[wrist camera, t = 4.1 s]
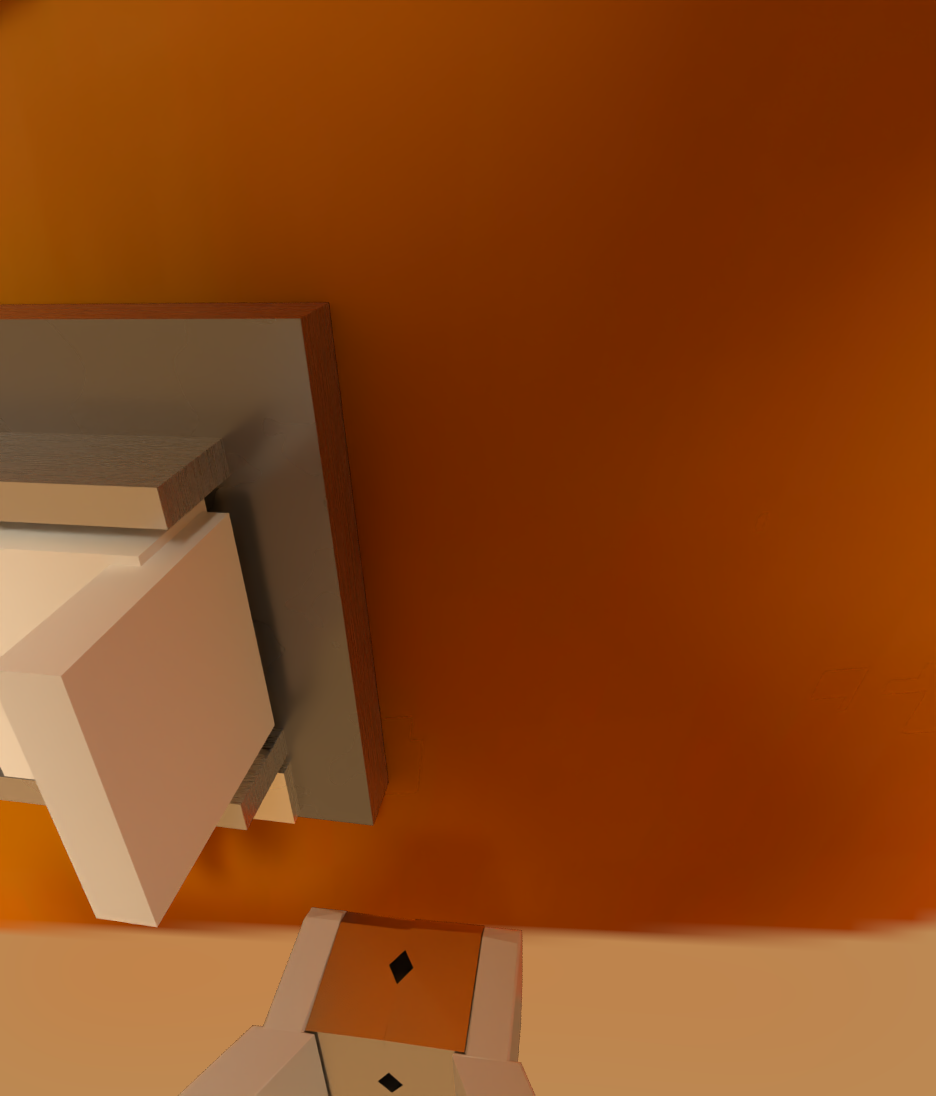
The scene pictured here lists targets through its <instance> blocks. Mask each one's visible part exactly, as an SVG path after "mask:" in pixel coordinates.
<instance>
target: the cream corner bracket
mask: <svg viewBox="0 0 936 1096" xmlns="http://www.w3.org/2000/svg"><path fill="white" fill-rule="evenodd" d="M274 726H275V724H274V719H273V714H272V710H271V705H270V700H269V696H268V691H267V687H266V682H265V677H264V673H263V668H262V664H261V659H260V654H259V650H258V645H257V640H256V636H255V631H254V627H253V622H252V617H251V613H250V608H249V603H248V599H247V594H246V590H245V585H244V580H243V576H242V571H241V566H240V562H239V557H238V553H237V548H236V543H235V539H234V534H233V529H232V525H231V520H230V516H229V513H215V512H207V509H206V505H205V501H204V499H202V500H201V501H200V502H199V503H198V504H197V505H196V506H194V507H193V508H192V509H191V510H190V511H189V512H188V513H186V514H185V515H184V516H183V517H182V518H181V519H180V520H178V521H177V522H176V523H175V524H174V525H173V526H172V527H170V528H169V529H168V530H163V529H143V528H124V527H104V526H84V525H64V524H44V523H24V522H5V521H0V767H1V769H2V772H3V774H4V776H8V777H17V778H25V779H34V780H35V781H36V783H37V786H38V788H39V790H40V792H41V795H42V797H43V799H44V801H45V804H46V806H47V808H48V810H49V813H50V815H51V817H52V819H53V822H54V824H55V826H56V828H57V831H58V833H59V835H60V837H61V840H62V842H63V844H64V846H65V849H66V851H67V853H68V855H69V858H70V860H71V862H72V864H73V867H74V869H75V871H76V873H77V876H78V878H79V880H80V882H81V885H82V887H83V889H84V891H85V894H86V896H87V898H88V900H89V903H90V905H91V907H92V909H93V912H94V914H95V916H96V918H99V919H106V920H112V921H119V922H126V923H132V924H139V925H145V926H152V927H158V925H159V924H160V922H161V920H162V918H163V917H164V915H165V913H166V912H167V910H168V908H169V906H170V905H171V903H172V901H173V900H174V898H175V896H176V894H177V893H178V891H179V889H180V887H181V886H182V884H183V882H184V881H185V879H186V877H187V875H188V874H189V872H190V870H191V869H192V867H193V865H194V863H195V862H196V860H197V858H198V856H199V855H200V853H201V851H202V850H203V848H204V846H205V844H206V843H207V841H208V839H209V838H210V836H211V834H212V832H213V831H214V829H215V827H216V825H217V824H218V822H219V820H220V819H221V817H222V815H223V813H224V812H225V810H226V808H227V807H228V805H229V803H230V801H231V800H232V798H233V796H234V794H235V793H236V791H237V789H238V788H239V786H240V784H241V782H242V781H243V779H244V777H245V776H246V774H247V772H248V770H249V769H250V767H251V765H252V764H253V762H254V760H255V758H256V757H257V755H258V753H259V751H260V750H261V748H262V746H263V745H264V743H265V741H266V739H267V738H268V736H269V734H270V733H271V731H272V729H273V727H274Z"/></svg>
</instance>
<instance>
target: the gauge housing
mask: <svg viewBox="0 0 936 1096" xmlns="http://www.w3.org/2000/svg"><path fill="white" fill-rule="evenodd" d="M202 499H204V501H205V505H206V509H207V512H215V513H229V516H230V520H231V525H232V529H233V534H234V539H235V543H236V548H237V553H238V557H239V562H240V566H241V571H242V576H243V580H244V585H245V590H246V594H247V599H248V603H249V608H250V613H251V617H252V622H253V627H254V631H255V636H256V640H257V645H258V650H259V654H260V659H261V664H262V668H263V673H264V677H265V682H266V687H267V691H268V696H269V700H270V705H271V710H272V714H273V719H274V724H275V726H274V727H273V729H272V731H271V733H270V734H269V736H268V738H267V739H266V741H265V743H264V745H263V746H262V748H261V750H260V751H259V753H258V755H257V757H256V758H255V760H254V762H253V764H252V765H251V767H250V769H249V770H248V772H247V774H246V776H245V777H244V779H243V781H242V782H241V784H240V786H239V788H238V789H237V791H236V793H235V794H234V796H233V798H232V800H231V801H230V803H229V805H228V807H227V808H226V810H225V812H224V813H223V815H222V817H221V819H220V820H219V822H218V824H217V825H216V826H218V827H226V828H234V829H242V830H247V829H248V828H249V826H250V824H251V822H252V820H253V819H260V820H268V821H276V822H284V823H293V824H295V822H296V820H297V818H298V817H306V818H314V819H323V820H331V821H340V822H348V823H357V824H365V825H374V822H375V819H376V817H377V814H378V811H379V808H380V805H381V802H382V800H383V797H384V794H385V791H386V788H387V785H388V783H389V782H388V774H387V766H386V758H385V750H384V742H383V734H382V726H381V718H380V710H379V702H378V694H377V686H376V678H375V670H374V662H373V654H372V646H371V638H370V630H369V622H368V614H367V606H366V598H365V590H364V582H363V574H362V566H361V558H360V550H359V542H358V534H357V526H356V518H355V510H354V502H353V494H352V486H351V478H350V470H349V461H348V453H347V445H346V437H345V429H344V421H343V413H342V405H341V397H340V389H339V381H338V373H337V365H336V357H335V349H334V341H333V333H332V325H331V317H330V309H329V302H317V303H168V304H18V305H0V521H5V522H24V523H44V524H64V525H84V526H104V527H124V528H143V529H163V530H168V529H169V528H170V527H172V526H173V525H174V524H175V523H176V522H177V521H178V520H180V519H181V518H182V517H183V516H184V515H185V514H186V513H188V512H189V511H190V510H191V509H192V508H193V507H194V506H196V505H197V504H198V503H199V502H200V501H201V500H202ZM0 800H8V801H16V802H24V803H32V804H40V805H46V804H45V801H44V799H43V797H42V795H41V792H40V790H39V788H38V786H37V783H36V781H35V780H34V779H25V778H17V777H8V776H4V774H3V772H2V769H1V767H0Z"/></svg>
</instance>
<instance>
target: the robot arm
mask: <svg viewBox="0 0 936 1096" xmlns="http://www.w3.org/2000/svg"><path fill="white" fill-rule="evenodd" d="M521 1003H522V930H513V929H503V928H492V927H485V926H484V925H474V924H463V923H452V922H441V921H431V920H420V919H415V920H412V919H404V918H396V917H387V916H379V915H371V914H363V913H355V912H348V911H343V910H333V909H324V908H314V907H312V908H311V910H310V911H309V913H308V914H307V915H306V917H305V918H304V920H303V923H302V926H301V928H300V931H299V933H298V936H297V939H296V941H295V944H294V947H293V949H292V952H291V954H290V957H289V960H288V963H287V965H286V968H285V970H284V973H283V976H282V978H281V981H280V983H279V986H278V989H277V991H276V994H275V996H274V999H273V1002H272V1004H271V1007H270V1010H269V1012H268V1015H267V1017H266V1020H265V1023H264V1025H263V1026H256V1025H252V1027H250V1028H249V1029H248V1030H247V1031H246V1032H245V1033H244V1034H243V1035H242V1036H241V1037H240V1038H239V1039H238V1040H236V1041H235V1042H234V1043H233V1044H232V1045H231V1046H230V1047H229V1048H228V1049H227V1050H226V1051H225V1052H224V1053H223V1054H222V1055H221V1056H220V1057H218V1058H217V1059H216V1060H215V1061H214V1062H213V1063H212V1064H211V1065H210V1066H209V1067H208V1068H207V1069H206V1070H205V1071H203V1072H202V1073H201V1074H200V1075H199V1076H198V1077H197V1078H196V1079H195V1080H194V1081H193V1082H192V1083H191V1084H190V1085H189V1086H187V1087H186V1088H185V1089H184V1090H183V1091H182V1092H181V1093H180V1094H179V1095H178V1096H535V1094H534V1091H533V1089H532V1087H531V1085H530V1082H529V1080H528V1078H527V1075H526V1073H525V1071H524V1068H523V1066H522V1064H521V1063H520V1062H518V1053H519V1040H520V1028H521Z"/></svg>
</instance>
